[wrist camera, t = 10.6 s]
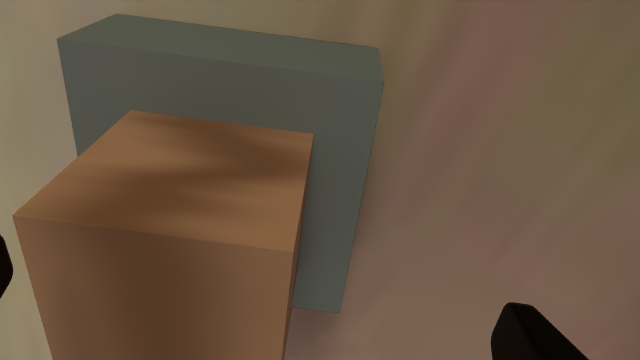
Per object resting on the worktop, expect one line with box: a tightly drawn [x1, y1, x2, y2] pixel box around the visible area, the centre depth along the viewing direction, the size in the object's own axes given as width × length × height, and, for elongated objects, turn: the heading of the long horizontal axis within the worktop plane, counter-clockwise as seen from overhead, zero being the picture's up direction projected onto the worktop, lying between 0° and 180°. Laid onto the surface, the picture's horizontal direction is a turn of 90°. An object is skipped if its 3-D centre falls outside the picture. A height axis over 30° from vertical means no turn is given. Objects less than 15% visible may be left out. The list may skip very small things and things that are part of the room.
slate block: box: [57, 14, 384, 313], centre depth 18 cm, size 10×10×4 cm
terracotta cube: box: [12, 110, 314, 360], centre depth 14 cm, size 6×6×6 cm
